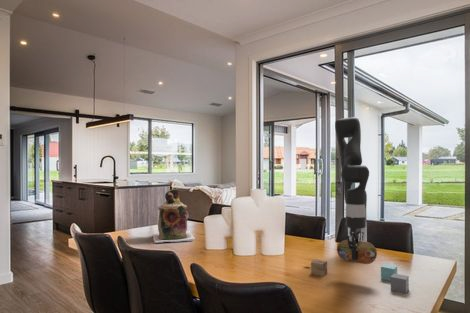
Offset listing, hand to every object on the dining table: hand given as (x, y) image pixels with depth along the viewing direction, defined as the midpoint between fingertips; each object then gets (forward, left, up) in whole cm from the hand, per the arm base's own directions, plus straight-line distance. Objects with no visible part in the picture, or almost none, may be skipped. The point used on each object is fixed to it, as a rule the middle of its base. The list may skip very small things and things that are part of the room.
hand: (356, 258), depth 131 cm
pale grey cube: (+1, +16, -9) cm, 18 cm away
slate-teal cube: (-10, +10, -9) cm, 16 cm away
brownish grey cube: (+1, -15, -9) cm, 17 cm away
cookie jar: (-8, -116, -9) cm, 117 cm away
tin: (0, 0, -2) cm, 2 cm away
